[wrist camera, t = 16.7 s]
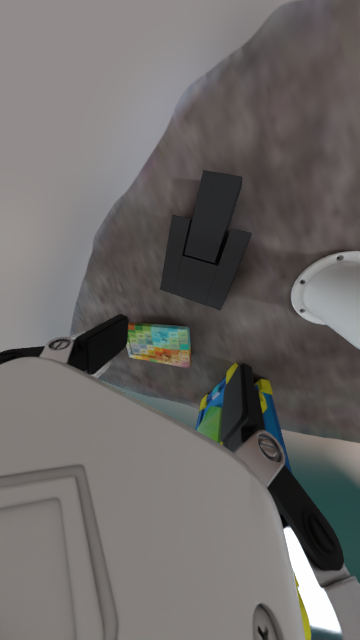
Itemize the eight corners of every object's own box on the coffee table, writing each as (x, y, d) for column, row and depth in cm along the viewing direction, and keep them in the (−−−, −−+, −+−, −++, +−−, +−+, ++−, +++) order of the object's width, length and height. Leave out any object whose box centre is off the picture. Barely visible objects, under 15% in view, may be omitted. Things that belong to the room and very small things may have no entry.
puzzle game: (189, 370, 38) (127, 359, 45) (193, 358, 42) (136, 350, 49) (186, 330, 34) (117, 325, 40) (191, 322, 38) (128, 318, 44)
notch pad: (249, 235, 26) (251, 233, 23) (222, 304, 33) (220, 310, 30) (179, 219, 29) (172, 214, 26) (167, 285, 36) (159, 289, 32)
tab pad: (207, 181, 25) (203, 170, 22) (241, 187, 24) (242, 176, 21) (189, 254, 31) (184, 254, 28) (216, 261, 30) (214, 262, 27)
